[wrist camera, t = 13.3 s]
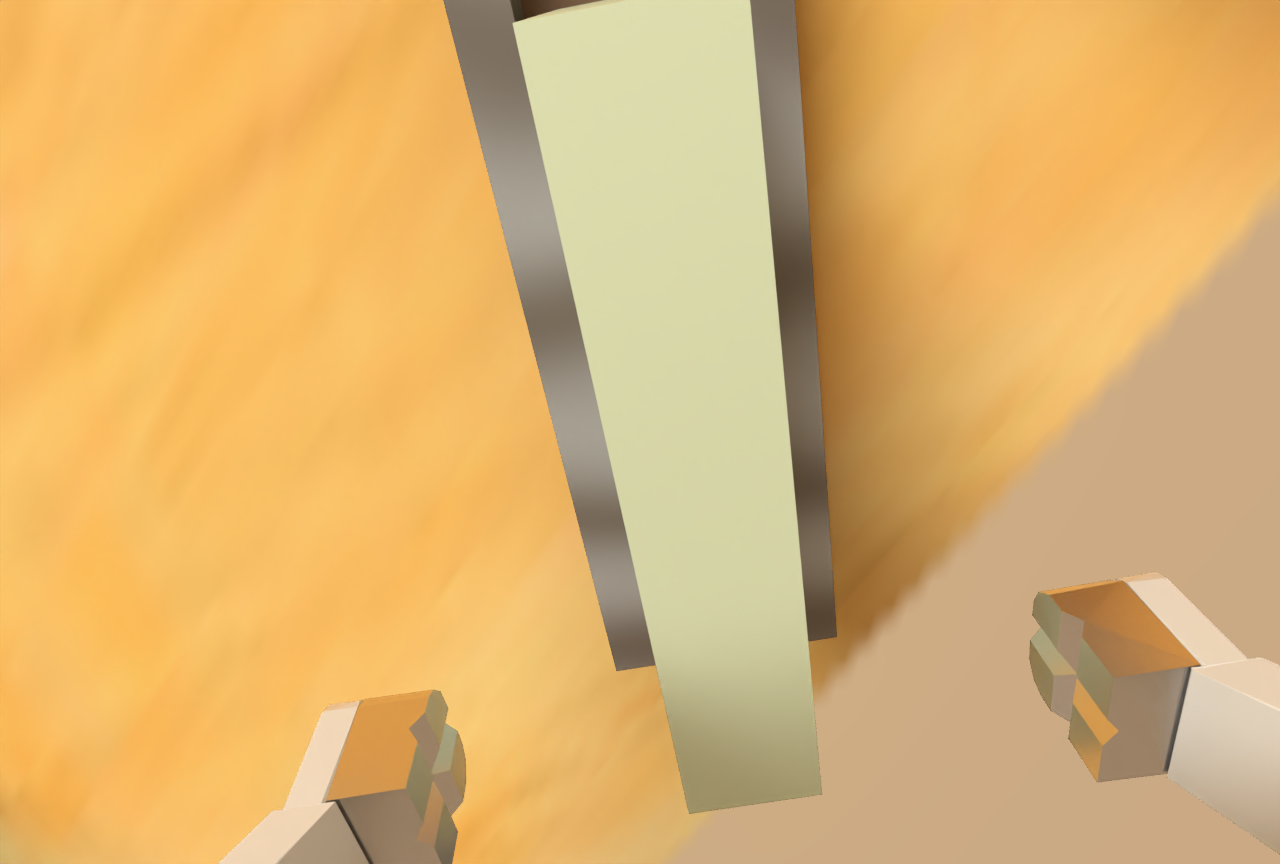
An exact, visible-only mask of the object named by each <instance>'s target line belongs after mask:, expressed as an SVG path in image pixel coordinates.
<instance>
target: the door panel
mask: <svg viewBox="0 0 1280 864" xmlns="http://www.w3.org/2000/svg"><path fill="white" fill-rule="evenodd" d="M513 28H514V32H515V37H516V41H517V46H518V50H519V55H520V59H521V64H522V68H523V73H524V77H525V82H526V86H527V91H528V95H529V100H530V104H531V109H532V113H533V117H534V122H535V126H536V131H537V135H538V140H539V144H540V149H541V153H542V158H543V162H544V167H545V171H546V176H547V180H548V185H549V189H550V194H551V198H552V203H553V207H554V212H555V216H556V220H557V225H558V229H559V234H560V238H561V243H562V247H563V252H564V256H565V261H566V265H567V270H568V274H569V279H570V283H571V288H572V292H573V297H574V301H575V306H576V310H577V315H578V319H579V323H580V328H581V332H582V337H583V341H584V346H585V350H586V355H587V359H588V364H589V368H590V373H591V377H592V382H593V386H594V391H595V395H596V400H597V404H598V409H599V413H600V418H601V422H602V426H603V431H604V435H605V440H606V444H607V449H608V453H609V458H610V462H611V467H612V471H613V476H614V480H615V485H616V489H617V494H618V498H619V503H620V507H621V512H622V516H623V521H624V525H625V530H626V534H627V538H628V543H629V547H630V552H631V556H632V561H633V565H634V570H635V574H636V579H637V583H638V588H639V592H640V597H641V601H642V606H643V610H644V615H645V619H646V624H647V628H648V633H649V637H650V641H651V646H652V650H653V655H654V659H655V664H656V668H657V673H658V677H659V682H660V686H661V691H662V695H663V700H664V704H665V709H666V713H667V718H668V722H669V727H670V731H671V736H672V740H673V744H674V749H675V753H676V758H677V762H678V767H679V771H680V776H681V780H682V785H683V789H684V794H685V798H686V803H687V807H688V812H689V814H692V813H698V812H705V811H712V810H719V809H726V808H733V807H739V806H747V805H753V804H760V803H767V802H774V801H781V800H788V799H795V798H802V797H809V796H815V795H822V789H821V778H820V767H819V757H818V756H819V755H818V746H817V734H816V722H815V712H814V700H813V689H812V678H811V667H810V656H809V645H808V634H807V623H806V612H805V601H804V590H803V579H802V568H801V557H800V546H799V535H798V524H797V513H796V502H795V491H794V480H793V469H792V458H791V446H790V435H789V424H788V413H787V402H786V391H785V380H784V369H783V358H782V347H781V336H780V325H779V314H778V303H777V292H776V281H775V270H774V259H773V248H772V237H771V226H770V215H769V204H768V193H767V182H766V171H765V160H764V149H763V138H762V127H761V116H760V105H759V94H758V83H757V72H756V61H755V50H754V39H753V27H752V16H751V5H750V0H602V1H597V2H592V3H587V4H582V5H576V6H571V7H566V8H561V9H557V10H554V11H551V12H547V13H544V14H541V15H537V16H534V17H531V18H527V19H524V20H521V21H518V22H514V23H513Z"/></svg>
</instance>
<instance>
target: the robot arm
mask: <svg viewBox="0 0 1280 864" xmlns="http://www.w3.org/2000/svg"><path fill="white" fill-rule="evenodd" d="M1032 615H1033V616H1034V618H1035V619H1036V621H1037V622H1038V624H1039V625H1040V626H1041V628H1040V630H1039V631H1038V632H1037V633H1036V634H1035V635H1034V636H1033V637H1032V639H1031V640H1030V664H1031V668H1032V673H1033V677H1034V681H1035V683H1036V685H1037V687H1038V690H1039V692H1040V694H1041V696H1042V698H1043V699H1044V701H1045V702H1046V704H1047V706H1048V707H1049V709H1050V711H1052V712H1054V713H1056V714H1057V715H1059V716H1061V717H1063V718H1064V719H1066V720H1068V721H1070V730H1069V740H1070V742H1071V743H1072V745H1073V746H1074V748H1075V749H1076V751H1077V752H1078V754H1079V755H1080V757H1081V759H1082V760H1083V762H1084V763H1085V765H1086V766H1087V768H1088V769H1089V771H1090V772H1091V774H1092V775H1093V777H1094V778H1095V780H1096V781H1097V782H1104V781H1112V780H1119V779H1128V778H1136V777H1143V776H1152V775H1161V774H1167V778H1169V779H1170V780H1172V781H1173V782H1175V783H1176V784H1178V785H1179V786H1180V787H1182V788H1183V789H1185V790H1186V791H1188V792H1189V793H1191V794H1192V795H1194V796H1195V797H1197V798H1198V799H1199V800H1201V801H1202V802H1204V803H1205V804H1207V805H1208V806H1210V807H1211V808H1213V809H1214V810H1215V811H1217V812H1218V813H1220V814H1221V815H1223V816H1224V817H1226V818H1227V819H1229V820H1230V821H1232V822H1233V823H1234V824H1236V825H1238V826H1239V827H1240V828H1242V829H1243V830H1245V831H1246V832H1248V833H1249V834H1251V835H1252V836H1253V837H1255V838H1256V839H1258V840H1259V841H1261V842H1263V843H1264V844H1265V845H1267V846H1268V847H1270V848H1271V849H1272V850H1274V851H1275V852H1277V853H1278V854H1280V665H1277V664H1275V663H1273V662H1270V661H1268V660H1266V659H1263V658H1261V657H1260V658H1253V659H1248V658H1247V657H1246V656H1245V655H1244V654H1243V653H1242V652H1241V651H1240V650H1239V649H1238V648H1237V647H1236V646H1235V645H1234V644H1233V643H1232V642H1231V641H1230V640H1229V639H1228V638H1227V637H1226V636H1225V635H1223V633H1222V632H1221V631H1220V630H1219V629H1218V628H1217V627H1216V626H1215V625H1214V624H1213V623H1212V622H1210V620H1208V618H1207V617H1205V616H1204V615H1203V614H1202V613H1201V612H1200V611H1199V610H1198V609H1197V608H1196V607H1195V606H1194V605H1193V604H1192V603H1191V602H1190V601H1189V600H1188V599H1187V598H1186V597H1185V596H1184V595H1183V594H1182V593H1181V592H1180V591H1179V590H1178V589H1177V588H1176V587H1175V586H1174V585H1173V584H1172V583H1171V582H1170V581H1169V580H1168V579H1167V578H1166V577H1165V576H1163V575H1161V574H1158V573H1156V572H1152V573H1145V574H1140V575H1134V576H1128V577H1122V578H1117V579H1115V580H1106V581H1100V582H1095V583H1089V584H1083V585H1077V586H1071V587H1065V588H1059V589H1054V590H1048V591H1041V592H1038V594H1037V596H1036V598H1035V599H1034V605H1033V614H1032ZM447 712H448V707H447V704H446V702H445V700H444V698H443V696H442V694H441V691H437V690H428V691H420V692H413V693H406V694H398V695H391V696H383V697H376V698H369V699H365V700H360V701H352V702H345V703H337V704H330V705H329V706H328V707H327V708H326V709H325V710H324V711H323V712H322V714H321V716H320V718H319V721H318V723H317V726H316V728H315V731H314V733H313V736H312V738H311V741H310V743H309V745H308V748H307V750H306V753H305V755H304V758H303V760H302V763H301V765H300V768H299V770H298V773H297V775H296V778H295V780H294V783H293V785H292V788H291V790H290V793H289V795H288V798H287V800H286V803H285V805H284V808H283V809H282V810H276V811H272V812H271V813H270V814H269V815H268V816H267V817H266V818H265V819H264V820H263V821H261V822H260V823H259V824H258V825H257V826H256V827H255V828H254V829H253V830H252V831H251V832H250V833H249V834H248V835H247V836H246V837H245V838H244V839H243V840H242V841H241V842H240V843H239V844H238V845H237V846H236V847H235V848H234V849H232V850H231V851H230V852H229V853H228V854H227V855H226V856H225V857H224V858H223V859H222V860H221V861H220V862H219V863H218V864H452V861H453V856H454V850H455V845H456V839H457V833H458V831H457V829H456V827H455V824H454V822H453V820H452V817H451V815H452V814H453V813H454V812H455V811H456V809H457V808H458V807H459V806H460V805H461V803H462V802H463V798H464V792H465V785H466V759H465V754H464V749H463V744H462V741H461V739H460V736H459V734H458V731H457V730H455V729H454V728H452V727H450V726H449V725H447V724H446V723H445V721H446V716H447Z"/></svg>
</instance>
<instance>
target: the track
mask: <svg viewBox="0 0 1280 864" xmlns="http://www.w3.org/2000/svg"><path fill="white" fill-rule="evenodd" d="M443 1H444V4H445V8H446V12H447V16H448V20H449V24H450V28H451V32H452V35H453V39H454V43H455V47H456V51H457V55H458V59H459V63H460V66H461V70H462V74H463V78H464V82H465V86H466V90H467V94H468V97H469V101H470V105H471V109H472V113H473V117H474V121H475V125H476V128H477V132H478V136H479V140H480V144H481V148H482V152H483V156H484V159H485V163H486V167H487V171H488V175H489V179H490V183H491V187H492V190H493V194H494V198H495V202H496V206H497V210H498V214H499V218H500V221H501V225H502V229H503V233H504V237H505V241H506V245H507V249H508V252H509V256H510V260H511V264H512V268H513V272H514V276H515V280H516V283H517V287H518V291H519V295H520V299H521V303H522V307H523V311H524V314H525V318H526V322H527V326H528V330H529V334H530V338H531V342H532V345H533V349H534V353H535V357H536V361H537V365H538V369H539V372H540V376H541V380H542V384H543V388H544V392H545V396H546V400H547V403H548V407H549V411H550V415H551V419H552V423H553V427H554V431H555V434H556V438H557V442H558V446H559V450H560V454H561V458H562V462H563V465H564V469H565V473H566V477H567V481H568V485H569V489H570V493H571V496H572V500H573V504H574V508H575V512H576V516H577V520H578V524H579V527H580V531H581V535H582V539H583V543H584V547H585V551H586V555H587V558H588V562H589V566H590V570H591V574H592V578H593V582H594V586H595V589H596V593H597V597H598V601H599V605H600V609H601V613H602V617H603V620H604V624H605V628H606V632H607V636H608V640H609V644H610V648H611V651H612V655H613V659H614V663H615V667H616V671H620V670H627V669H633V668H640V667H646V666H653V665H656V664H655V659H654V655H653V650H652V646H651V641H650V637H649V633H648V628H647V624H646V619H645V615H644V610H643V606H642V601H641V597H640V592H639V588H638V583H637V579H636V574H635V570H634V565H633V561H632V556H631V552H630V547H629V543H628V538H627V534H626V530H625V525H624V521H623V516H622V512H621V507H620V503H619V498H618V494H617V489H616V485H615V480H614V476H613V471H612V467H611V462H610V458H609V453H608V449H607V444H606V440H605V435H604V431H603V426H602V422H601V418H600V413H599V409H598V404H597V400H596V395H595V391H594V386H593V382H592V377H591V373H590V368H589V364H588V359H587V355H586V350H585V346H584V341H583V337H582V332H581V328H580V323H579V319H578V315H577V310H576V306H575V301H574V297H573V292H572V288H571V283H570V279H569V274H568V270H567V265H566V261H565V256H564V252H563V247H562V243H561V238H560V234H559V229H558V225H557V220H556V216H555V212H554V207H553V203H552V198H551V194H550V189H549V185H548V180H547V176H546V171H545V167H544V162H543V158H542V153H541V149H540V144H539V140H538V135H537V131H536V126H535V122H534V117H533V113H532V109H531V104H530V100H529V95H528V91H527V86H526V82H525V77H524V73H523V68H522V64H521V59H520V55H519V50H518V46H517V41H516V37H515V32H514V28H513V23H514V22H518V21H521V20H524V19H527V18H531V17H534V16H537V15H541V14H544V13H547V12H551V11H554V10H557V9H561V8H566V7H571V6H576V5H582V4H587V3H592V2H597V1H602V0H443ZM750 5H751V16H752V27H753V39H754V50H755V61H756V72H757V83H758V94H759V105H760V116H761V127H762V138H763V149H764V160H765V171H766V182H767V193H768V204H769V215H770V226H771V237H772V248H773V259H774V270H775V281H776V292H777V303H778V314H779V325H780V336H781V347H782V358H783V369H784V380H785V391H786V402H787V413H788V424H789V435H790V446H791V458H792V469H793V480H794V491H795V502H796V513H797V524H798V535H799V546H800V557H801V568H802V579H803V590H804V601H805V612H806V623H807V634H808V641H814V640H821V639H827V638H834V637H837V631H836V616H835V601H834V586H833V570H832V555H831V540H830V525H829V510H828V495H827V480H826V465H825V450H824V435H823V419H822V404H821V389H820V374H819V359H818V344H817V329H816V314H815V299H814V283H813V268H812V253H811V238H810V223H809V208H808V193H807V178H806V163H805V148H804V132H803V117H802V102H801V87H800V72H799V57H798V42H797V27H796V12H795V0H750Z"/></svg>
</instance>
